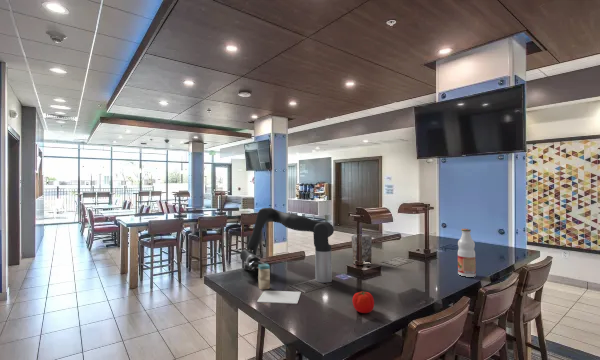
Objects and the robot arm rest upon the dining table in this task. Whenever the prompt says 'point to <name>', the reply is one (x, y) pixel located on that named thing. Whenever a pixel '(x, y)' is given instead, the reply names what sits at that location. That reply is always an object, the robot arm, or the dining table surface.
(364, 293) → the tomato
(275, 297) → the grey mat
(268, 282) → the beige tall box
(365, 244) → the stone block
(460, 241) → the fruit juice
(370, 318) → the dining table surface
